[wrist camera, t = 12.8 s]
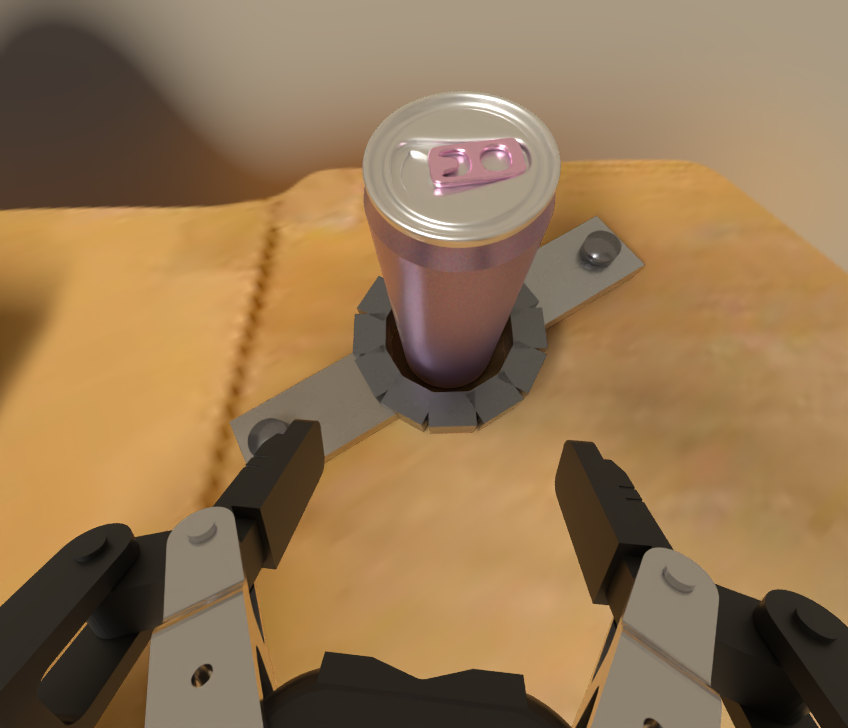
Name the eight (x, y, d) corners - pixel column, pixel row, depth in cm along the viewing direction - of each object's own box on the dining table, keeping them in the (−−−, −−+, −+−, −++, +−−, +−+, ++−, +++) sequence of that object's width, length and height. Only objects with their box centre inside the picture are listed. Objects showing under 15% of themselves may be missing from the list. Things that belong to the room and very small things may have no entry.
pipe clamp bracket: (559, 202, 27) (573, 170, 25) (665, 312, 24) (696, 290, 21) (226, 384, 24) (196, 371, 21) (294, 547, 20) (269, 558, 17)
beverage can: (497, 385, 23) (594, 230, 9) (409, 395, 23) (360, 259, 9) (482, 306, 25) (541, 74, 10) (401, 316, 25) (350, 97, 10)
